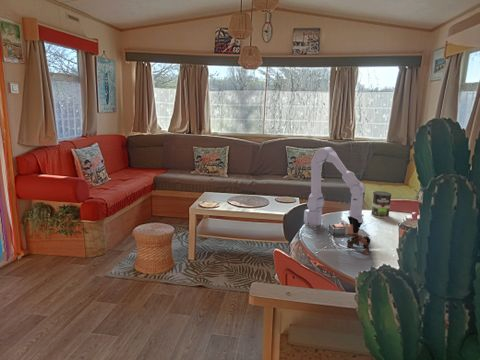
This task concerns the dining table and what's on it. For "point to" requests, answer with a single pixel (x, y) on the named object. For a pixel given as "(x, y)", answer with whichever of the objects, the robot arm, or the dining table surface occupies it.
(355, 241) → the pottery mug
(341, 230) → the dispenser
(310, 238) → the dining table surface
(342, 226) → the copper rectangular block
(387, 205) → the coffee can
